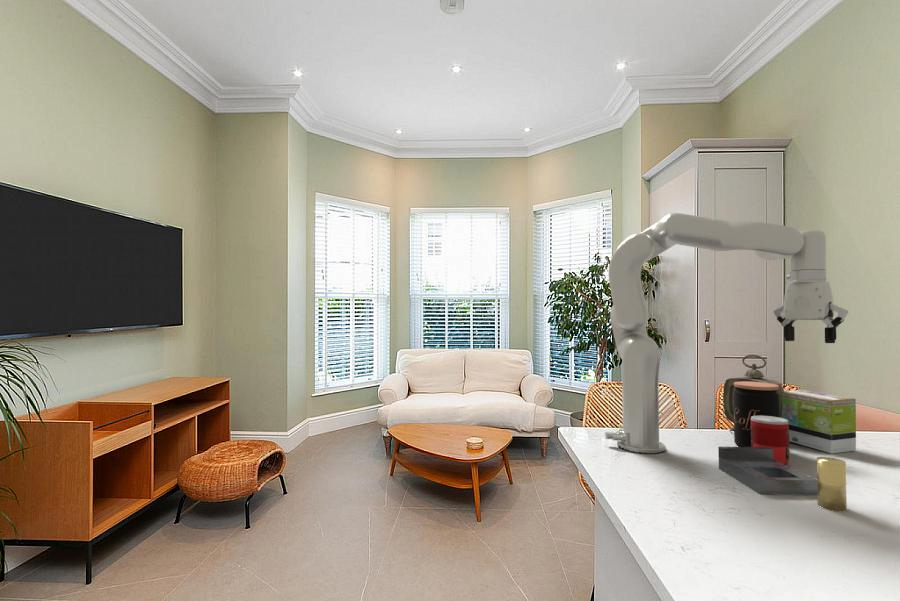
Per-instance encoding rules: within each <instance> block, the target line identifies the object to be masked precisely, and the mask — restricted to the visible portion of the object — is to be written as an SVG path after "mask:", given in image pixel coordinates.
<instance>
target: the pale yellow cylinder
mask: <svg viewBox="0 0 900 601" xmlns="http://www.w3.org/2000/svg"><path fill="white" fill-rule="evenodd" d="M846 464H847V463H846V461H844V460H843V459H840V458H834V457H828V456H818V457H816V479H817V495H816V496H817V505H818V507H820V506H821V507H820V508H822V507H823V508H822V509H825V508H826V509H825V510H828V509H829V510H828V511H832V510H833V511H832V512H839V511H841V513H843V511H844V512H847V511H848V509H847V506H848V505H847V504H848V502H847V472H846V471H847V466H846Z"/></svg>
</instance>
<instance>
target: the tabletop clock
mask: <svg viewBox="0 0 900 601" xmlns="http://www.w3.org/2000/svg"><path fill="white" fill-rule="evenodd" d="M747 358H759V359H761V360H762V361H763V364H762V365H760V366H757V364H755V363H752V364H751V365H749V364H747V363H745V360H746V359H747ZM742 364H743V365H744V366H745V367H747V368H749V369H748V370H747V371H745V373H744V376H742V377H731V378H727V379H726V380H725V381H724V386H723V396H722V400H723V401H722V402H723V411H724V415H725V418H726V420H728V421H730V422H731V423H733V424H734V391H735V390H736V388H735V386H734V382H741V381H747V382H763V383H771V384H776V385H778V386H779V389H778V390H777V393H778V394H779V418H781V417H782V397H781V391H785V390H784V387H783V385H782V383H781V382H779V381H778V380H775V379H771V378H765V376H764V373H763V372H762V371H761V370H759V369H762V368H765V367H766V365H767V361H766V359H765V358H764V357H763V356H761V355H758V354H747V355H745V356H744V357H743V358H742ZM730 431H734V427H730V428H729V432H730Z"/></svg>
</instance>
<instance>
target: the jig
mask: <svg viewBox="0 0 900 601" xmlns="http://www.w3.org/2000/svg"><path fill="white" fill-rule="evenodd" d="M717 449H718V470H719V471H722V472H723V473H724V472H725V473H724V474H726V475H728V476H729V477H732V478H733V479H735V480H736V481H737V482H739V483H741V484H743V485H744V486H746V487H748V488H749V489H751V490H752V491H754V492H756V493H757V494H759V495H784V496H786V495H787V496H789V495H791V496H793V495H794V496H795V495H796V496H797V495H798V496H817V478H814V477H813V476H810V475H808V474H807V473H804V472H802V471H800V470H798V469H796V468H793V467H791V466H789V465H785V464H783V463H781V462H778V461H776V460H774V459H773V449H772V448H770V447H737V446H718V448H717Z"/></svg>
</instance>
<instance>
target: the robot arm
mask: <svg viewBox="0 0 900 601" xmlns="http://www.w3.org/2000/svg"><path fill="white" fill-rule="evenodd" d="M826 243H827V242H826V234H825V232H824V231H823V230H819V229H818V230H817V229H816V230H815V229H812V230H801V231H799V230H798V229H796V228H794V227H791V226H787V225H781V224H776V223H769V222H759V221H745V220H743V221H742V220H726V219H725V220H723V219H717V218H712V217H711V218H710V217H706V216H704V217H703V216H700V215H694V214H687V213H679V212H672V213H671V212H670V213H669V214H666V215H665V216H663V217H662V218H661V219H659V220H658V221H657V222H656V223H655V224H653V225H651V226H650V227H648V228H647V229H644V230H643V231H642V232H639V233H633V234H631V235H629V236H628V237H627V238H625V239H624V240H623V241H622V242H621V243H620V244H619V245H618V246H617V248H616V249H615V251H614V252H613V254H612V256H611V259H610V262H609V266H608V282H609V287H610V293H611V298H612V303H613V304H612V306H611V309H610V312H609V315H610V316H609V317H610V323H611V324H610V325H611V328H612V332H613V338H614V342H615V346H616V350H617V354H618V356H619V358H620V359H621V360H622V373H621V374H622V375H621V391H622V392H621V393H622V394H621V395H622V398H621V399H622V428H619V430H617V431H616V432H612V431H606V432H605V433H604V434H605V435H604V437H605V439H606V440H612V441H616V445H617V446H618V447H619V446H620V447H621V448H620V447H619V448H620V449H622V448H624V449H623V450H625V449H626V450H625V451H628V450H629V452H633V451H634V452H633V453H639V452H641V453H640V454H657V453H658V452H659V453H663V452H665V450H666V444H664V443H663V442H661V441H660V409H659V408H660V407H659V406H660V405H659V404H660V403H659V402H660V401H659V389H660V388H659V376H660V375H659V374H660V365H661V350H660V348H659V346H658V344H657V343H656V341H655V339H653V338H652V337H650V336H648V331H647V326H646V324H647V323H648V320H649V318H650V317H649V309H648V307H647V302H646V299H645V294H644V289H643V284H642V277H641V273H642V268H643V266H644V264H645V263H647V262H648V261H649V260H651V259H653V258H655V257H658V256H659V255H661V254H662V253H664V252H666V251H667V250H669V249H670V248H672V247H673V246H676V245H680V246H685V247H690V248H691V247H692V248H697V249H698V248H699V249H703V250H709V251H714V252H715V251H716V252H728V251H739V250H740V251H741V250H742V251H743V250H746V251H753V252H754V253H755V255H756V256H757V257H758V258H761V259H762V260H765V261H776V260H777V261H778V260H783V259H784V260H785V259H790V271H789V274H786V275H785V279H786V280H790V282H789V283H787V284H786V286H785V287H786V288H785V293H784V297H783V298H784V299H783V305H782V306H780V307H778V308H776V309H774V310H773V314H774V315H775V317H776V320H777V321H778V322H779V323H780V324H781V326H782V327H783V336H784V341H785V342H795V338H796V337H795V336H796V335H795V327H794V326H793V325H794V324H795V322H797V321H799V320H800V321H803V320H804V321H809V320H810V321H822V322H823V323H824V324H825V325H826V327H825V328H824V343H825V344H835V343H836V340H837V328H838V327H839V326H840V325H841V324H842V323H843V322H844V321H845V319H846V317H847V316H848V314H849V311H848V310H847V309H845V308H843V307H841V306H839V305H836V304H835V303H834V298H833V292H832V288H831V284H830V282H829V281H827V252H826V250H827V248H826V246H827V245H826ZM834 313H837V316H836V317H835V318H834V315H835V314H834ZM662 451H663V452H662ZM659 453H658V454H659Z"/></svg>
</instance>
